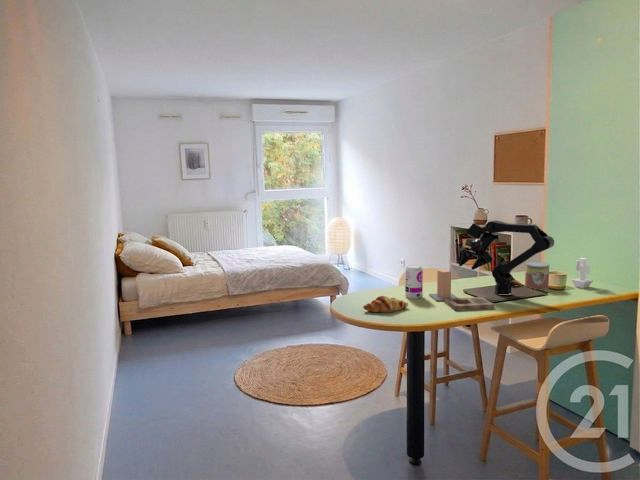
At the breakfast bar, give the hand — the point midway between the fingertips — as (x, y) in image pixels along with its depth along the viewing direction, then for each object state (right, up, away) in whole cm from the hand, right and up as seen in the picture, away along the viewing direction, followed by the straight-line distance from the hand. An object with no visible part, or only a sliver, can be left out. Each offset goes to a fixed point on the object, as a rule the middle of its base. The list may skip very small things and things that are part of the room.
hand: (465, 267), depth 239 cm
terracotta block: (-11, -14, -3) cm, 18 cm away
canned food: (+41, -11, +14) cm, 44 cm away
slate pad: (-11, -14, -3) cm, 19 cm away
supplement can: (-25, -14, 0) cm, 29 cm away
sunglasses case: (+31, -10, +24) cm, 40 cm away
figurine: (+63, -11, +12) cm, 65 cm away
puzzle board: (-4, -16, -17) cm, 24 cm away
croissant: (-42, -18, -21) cm, 50 cm away
